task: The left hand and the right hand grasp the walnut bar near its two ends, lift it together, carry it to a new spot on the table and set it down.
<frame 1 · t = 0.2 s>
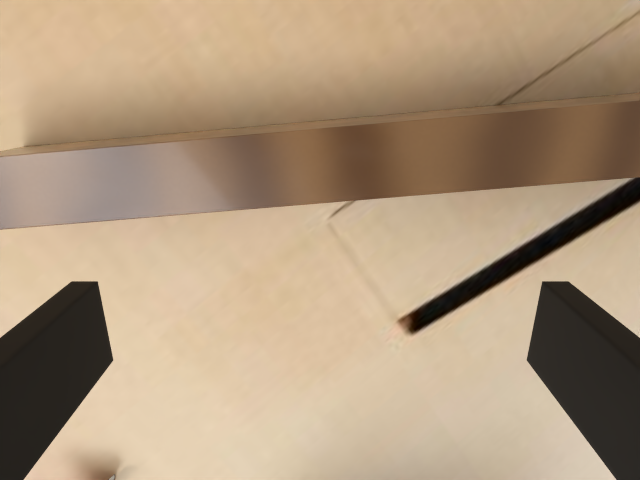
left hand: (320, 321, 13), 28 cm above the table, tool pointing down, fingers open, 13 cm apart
bar: (359, 149, 39), on the table
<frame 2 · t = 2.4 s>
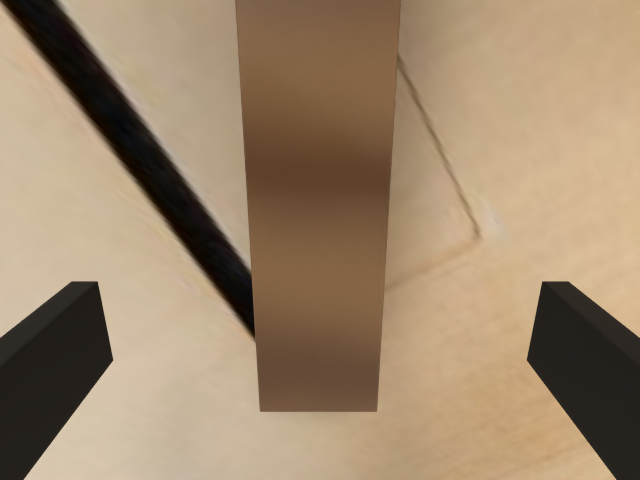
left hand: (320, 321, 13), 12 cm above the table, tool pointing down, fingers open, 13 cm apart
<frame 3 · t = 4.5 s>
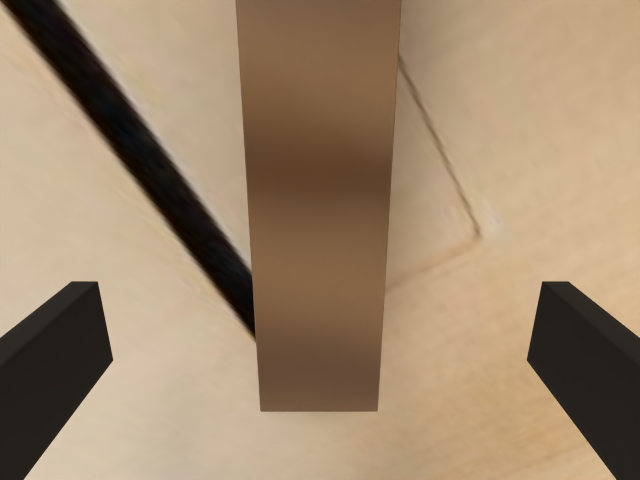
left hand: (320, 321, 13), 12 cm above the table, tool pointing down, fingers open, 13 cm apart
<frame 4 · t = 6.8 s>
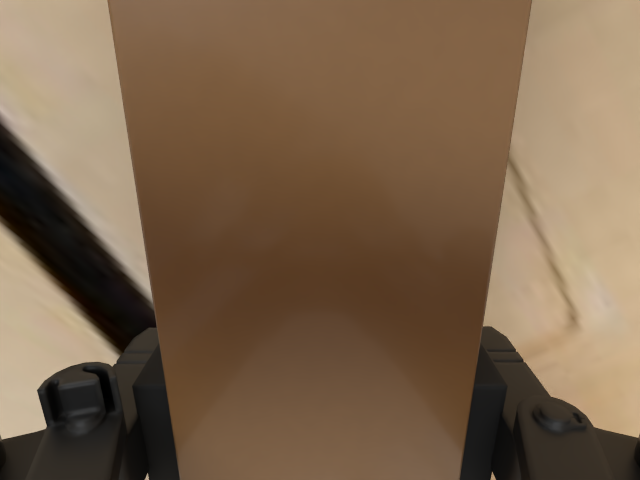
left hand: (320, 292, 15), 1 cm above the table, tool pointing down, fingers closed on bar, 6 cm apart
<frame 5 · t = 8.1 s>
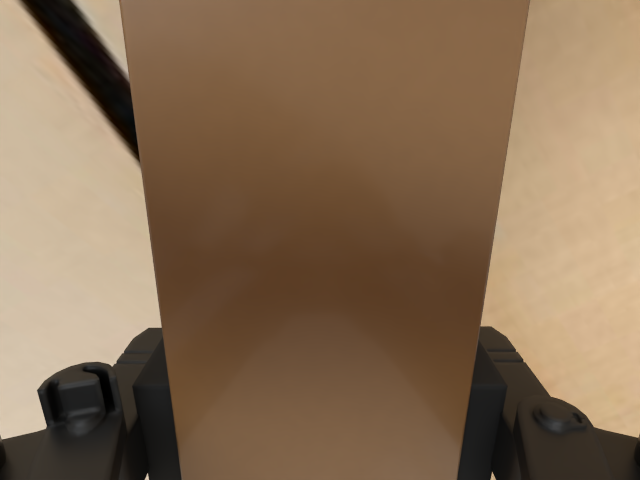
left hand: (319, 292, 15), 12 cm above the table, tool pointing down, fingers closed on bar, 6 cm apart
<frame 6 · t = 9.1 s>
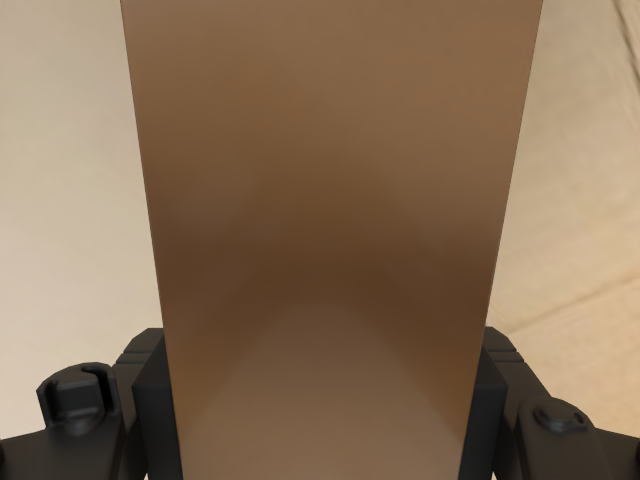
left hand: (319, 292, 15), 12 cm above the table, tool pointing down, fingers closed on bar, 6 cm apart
when the left hand's fingers open (2 cm above the table, at t = 11.8 s): bar stays where it is, on the table.
when the right hand's fingers open (3 cm above the table, at t = 12.0 s): bar stays where it is, on the table.
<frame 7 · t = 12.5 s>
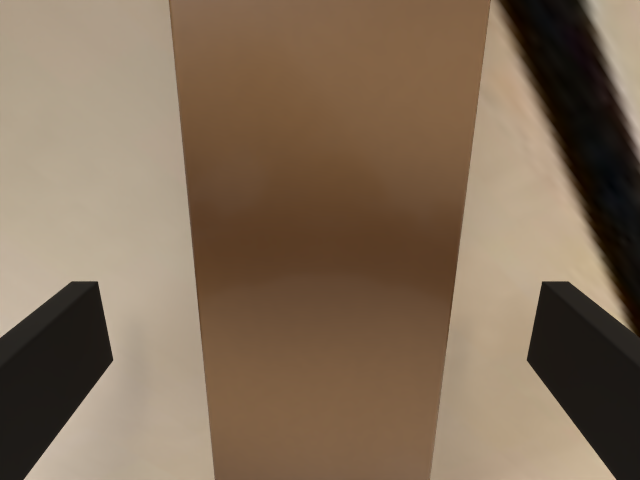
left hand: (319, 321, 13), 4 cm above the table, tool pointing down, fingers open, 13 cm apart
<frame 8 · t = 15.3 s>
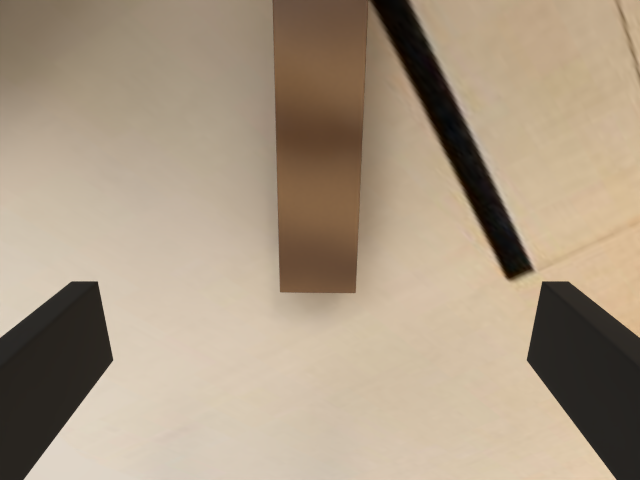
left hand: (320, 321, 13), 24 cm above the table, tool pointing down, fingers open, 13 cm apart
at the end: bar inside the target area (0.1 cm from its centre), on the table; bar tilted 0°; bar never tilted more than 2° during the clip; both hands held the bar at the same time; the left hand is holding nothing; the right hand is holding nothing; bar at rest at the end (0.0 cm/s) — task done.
